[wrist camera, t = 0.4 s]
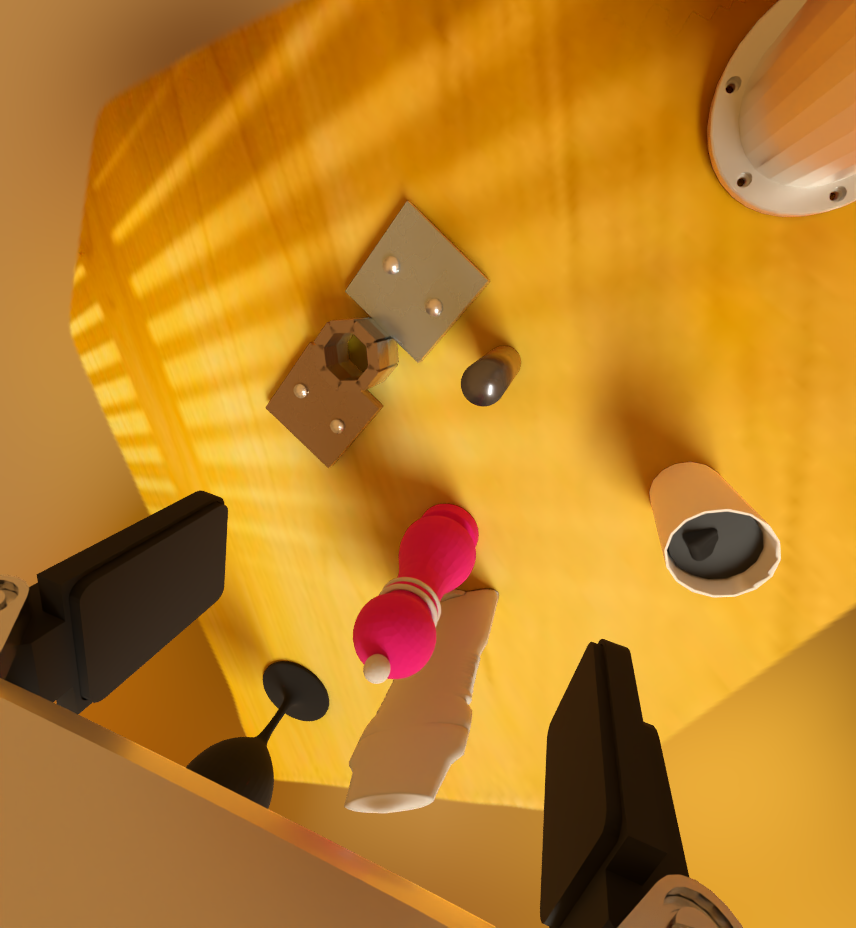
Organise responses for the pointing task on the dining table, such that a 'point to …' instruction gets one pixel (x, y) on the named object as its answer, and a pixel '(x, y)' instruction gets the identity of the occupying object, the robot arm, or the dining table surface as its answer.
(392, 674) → the pepper mill
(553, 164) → the dining table surface
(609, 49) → the dining table surface
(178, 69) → the dining table surface
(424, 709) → the beige upright panel
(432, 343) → the hinge
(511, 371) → the hinge pin
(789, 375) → the dining table surface
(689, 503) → the paper coffee cup
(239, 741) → the wine glass
